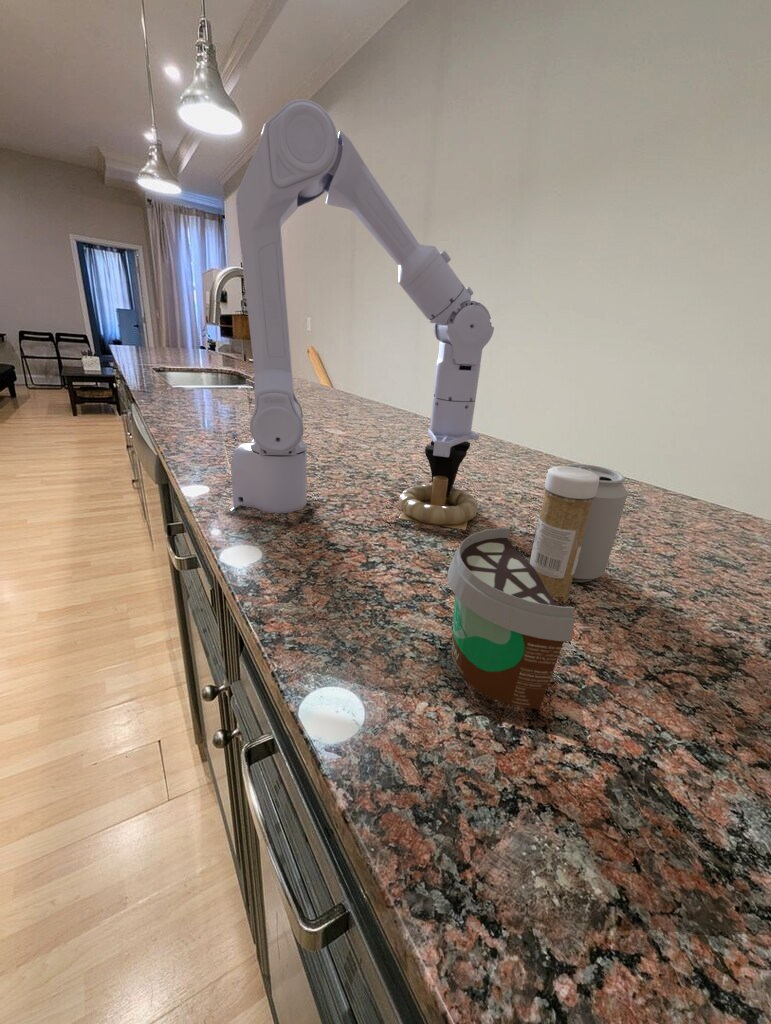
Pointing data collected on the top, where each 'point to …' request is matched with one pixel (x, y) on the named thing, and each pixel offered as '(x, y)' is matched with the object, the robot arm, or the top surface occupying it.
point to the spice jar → (562, 526)
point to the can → (600, 523)
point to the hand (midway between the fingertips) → (442, 492)
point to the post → (437, 501)
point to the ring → (438, 514)
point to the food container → (504, 621)
